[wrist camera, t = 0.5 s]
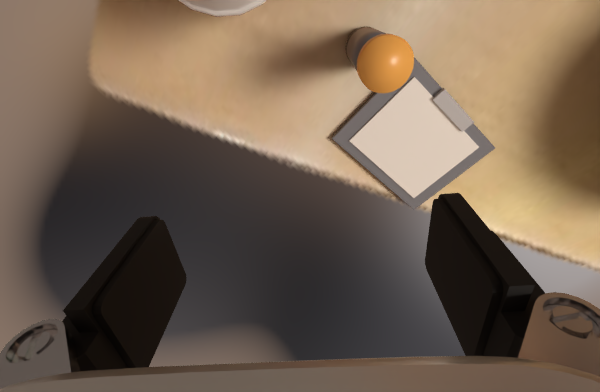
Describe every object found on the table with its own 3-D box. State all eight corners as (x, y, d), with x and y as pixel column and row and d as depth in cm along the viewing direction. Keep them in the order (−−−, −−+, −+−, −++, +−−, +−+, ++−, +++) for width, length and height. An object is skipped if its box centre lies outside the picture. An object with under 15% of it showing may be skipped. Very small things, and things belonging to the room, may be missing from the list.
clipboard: (412, 54, 30) (415, 56, 29) (493, 145, 34) (498, 149, 33) (331, 136, 34) (332, 140, 34) (412, 207, 39) (415, 212, 38)
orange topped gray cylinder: (364, 16, 28) (389, 21, 19) (390, 44, 29) (425, 62, 20) (336, 48, 30) (347, 68, 21) (362, 74, 31) (383, 104, 22)
